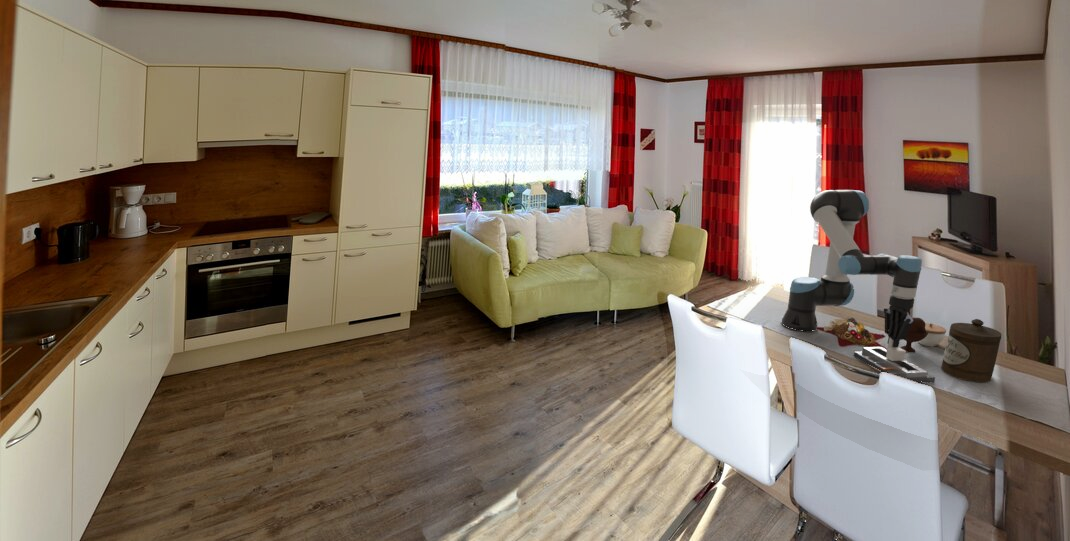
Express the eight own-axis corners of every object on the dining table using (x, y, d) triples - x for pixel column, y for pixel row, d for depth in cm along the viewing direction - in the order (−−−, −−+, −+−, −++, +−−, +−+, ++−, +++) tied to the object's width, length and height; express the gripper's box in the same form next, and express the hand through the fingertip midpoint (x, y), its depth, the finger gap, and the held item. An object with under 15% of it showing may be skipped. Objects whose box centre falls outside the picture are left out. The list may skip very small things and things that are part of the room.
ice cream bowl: (917, 346, 214) (924, 314, 210) (927, 357, 204) (935, 323, 200) (888, 343, 218) (895, 311, 214) (897, 353, 208) (904, 320, 204)
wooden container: (933, 363, 199) (945, 311, 193) (978, 367, 195) (991, 315, 189) (951, 379, 185) (965, 324, 180) (999, 385, 181) (1015, 329, 175)
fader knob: (884, 362, 195) (887, 347, 193) (896, 362, 195) (899, 347, 193) (891, 366, 191) (894, 351, 190) (903, 366, 192) (906, 351, 190)
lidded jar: (947, 349, 212) (952, 329, 209) (919, 347, 214) (924, 327, 211) (933, 339, 222) (938, 320, 219) (906, 337, 224) (911, 318, 221)
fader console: (853, 355, 205) (855, 347, 204) (885, 354, 206) (887, 346, 205) (898, 383, 182) (900, 373, 181) (934, 382, 183) (936, 372, 182)
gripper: (880, 291, 194) (870, 347, 200) (906, 301, 182) (894, 361, 188) (898, 291, 195) (887, 346, 201) (926, 301, 182) (913, 360, 188)
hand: (891, 353), depth 194 cm, fingers closed
